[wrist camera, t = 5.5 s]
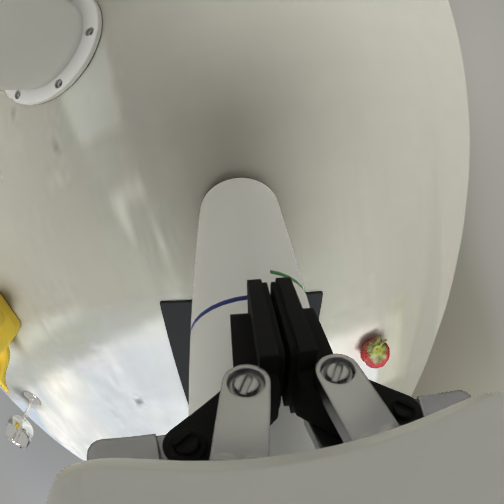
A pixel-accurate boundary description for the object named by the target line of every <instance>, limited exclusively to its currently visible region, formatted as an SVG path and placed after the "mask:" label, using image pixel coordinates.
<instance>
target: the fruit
mask: <svg viewBox="0 0 504 504" xmlns="http://www.w3.org/2000/svg"><path fill="white" fill-rule="evenodd" d="M386 341H387V339H385V340H384V341H382V340H381V337H380V335H378V336H376V337H375V339H370V340H368V341H367V342H366V343H364V345H363V346H362V348H361V358H362V360H363V361H364V362H365V363H366V365H368V366H369V367H371V368H379V367H382V366H384V365H385V364H386V362H387V361H388V359H389V353H390V351H389V347H388V345H387V344H386V343H385V342H386Z"/></svg>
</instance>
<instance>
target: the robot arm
mask: <svg viewBox="0 0 504 504" xmlns="http://www.w3.org/2000/svg"><path fill="white" fill-rule="evenodd" d="M101 28H102V17H101V12H100V9H99V6H98V4H97V3H96V2H95V0H0V90H5V92H6V94H7V95H8V96H9V98H10V99H12V100H13V101H15V102H16V103H19V104H22V105H36V104H42V103H45V102H48V101H50V100H52V99H54V98H56V97H57V96H59V95H60V94H62V93H63V92H64V91H66V90H67V89H68V88H69V87H70V86H71V85H72V84H73V83H74V82H75V81H76V80H77V79H78V78H79V76H80V75H81V74H82V72H83V71H84V70H85V68H86V67H87V65H88V63H89V62H90V60H91V59H92V57H93V54H94V52H95V50H96V48H97V45H98V42H99V38H100V35H101ZM247 303H248V313H244V314H230V325H231V342H232V357H233V368H231V369H230V370H228V371H227V372H226V373H225V375H224V376H223V379H222V383H221V389H220V391H219V392H218V393H217V394H216V395H215V396H213V397H212V398H211V399H210V400H209V401H207V402H206V403H205V404H204V405H202V406H201V407H200V408H199V409H197V410H196V411H195V412H194V413H192V414H191V415H190V416H188V417H187V418H186V419H185V420H183V421H182V422H181V423H179V424H178V425H177V426H175V427H174V428H173V429H172V430H170V431H169V432H168V433H167V434H166V435H161V436H156V434H150V435H142V436H133V437H123V438H111V439H101V440H97V441H95V442H94V443H92V444H91V445H90V447H89V448H88V452H87V461H82V462H78V463H75V464H73V465H70V466H68V467H66V468H64V469H63V470H61V472H60V473H59V474H58V475H57V477H56V479H55V480H54V482H53V485H52V487H51V490H50V493H49V496H48V500H47V504H504V392H490V393H484V394H480V395H476V396H473V397H471V396H470V395H469V394H468V393H467V392H465V391H462V390H457V391H450V392H445V393H438V394H432V395H424V396H418V398H417V399H414V398H412V397H410V396H408V395H406V394H403V393H400V392H398V391H395V390H393V389H390V388H388V387H385V386H383V385H381V384H378V383H376V382H373V381H371V380H369V379H368V378H367V377H366V375H365V374H364V372H363V371H362V369H361V368H360V367H359V365H358V364H357V363H356V362H355V361H354V359H352V358H350V357H349V356H346V355H343V354H333V352H332V350H331V347H330V345H329V343H328V340H327V338H326V336H325V333H324V331H323V329H322V326H321V324H320V322H319V319H318V317H317V315H316V313H315V311H314V309H313V308H302V305H301V302H300V300H299V297H298V295H297V292H296V290H295V287H294V285H293V282H292V280H291V278H290V277H282V278H276V280H275V282H271V284H270V292H269V288H268V284H267V282H263V283H262V280H261V279H253V280H247ZM281 396H282V400H283V405H284V407H285V406H289V408H290V413H296V415H297V416H298V417H300V418H302V419H304V420H303V421H304V425H305V427H306V430H307V432H308V434H309V436H310V438H311V441H312V443H313V445H314V447H315V450H310V451H305V452H299V453H293V454H286V455H279V456H271V457H269V456H270V426H271V425H272V424H273V422H274V421H275V420H276V419H277V418H278V412H279V407H280V403H281Z"/></svg>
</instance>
